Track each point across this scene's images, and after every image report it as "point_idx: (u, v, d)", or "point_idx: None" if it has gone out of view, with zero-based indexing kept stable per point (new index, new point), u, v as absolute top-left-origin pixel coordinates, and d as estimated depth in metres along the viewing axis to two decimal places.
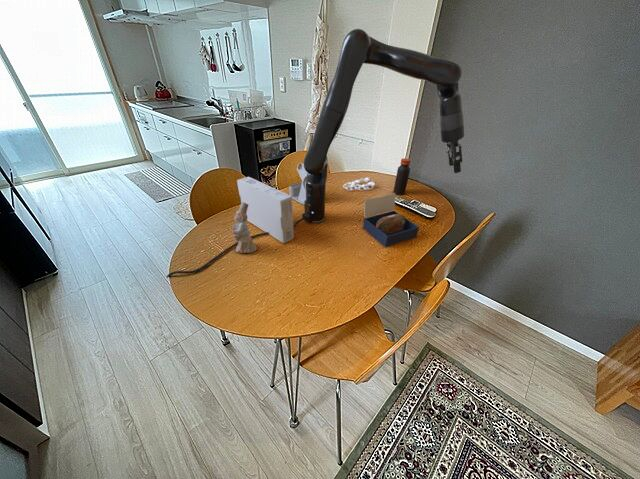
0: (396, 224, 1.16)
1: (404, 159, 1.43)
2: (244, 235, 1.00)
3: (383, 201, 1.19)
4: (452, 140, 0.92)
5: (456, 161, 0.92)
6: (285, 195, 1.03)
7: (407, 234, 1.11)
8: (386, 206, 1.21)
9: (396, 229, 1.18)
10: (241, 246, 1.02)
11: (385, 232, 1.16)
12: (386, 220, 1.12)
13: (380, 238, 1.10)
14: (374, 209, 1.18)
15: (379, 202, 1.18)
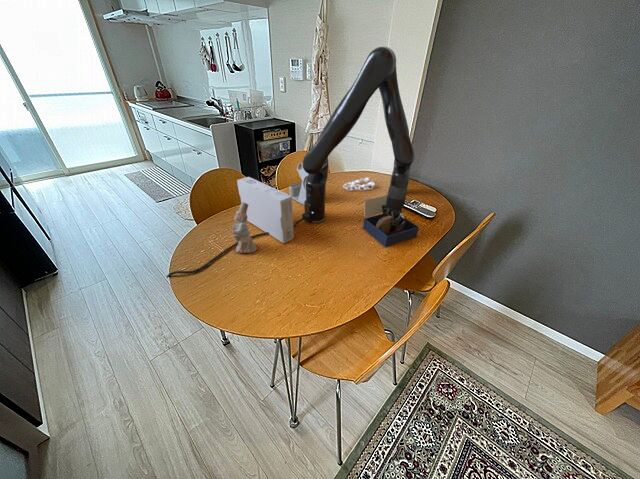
0: None
1: None
2: (244, 235, 1.00)
3: (383, 201, 1.19)
4: (399, 207, 1.07)
5: None
6: (285, 195, 1.03)
7: (407, 234, 1.11)
8: None
9: (396, 229, 1.18)
10: (241, 246, 1.02)
11: (385, 232, 1.16)
12: (386, 220, 1.12)
13: (380, 238, 1.10)
14: (374, 209, 1.18)
15: (379, 202, 1.18)
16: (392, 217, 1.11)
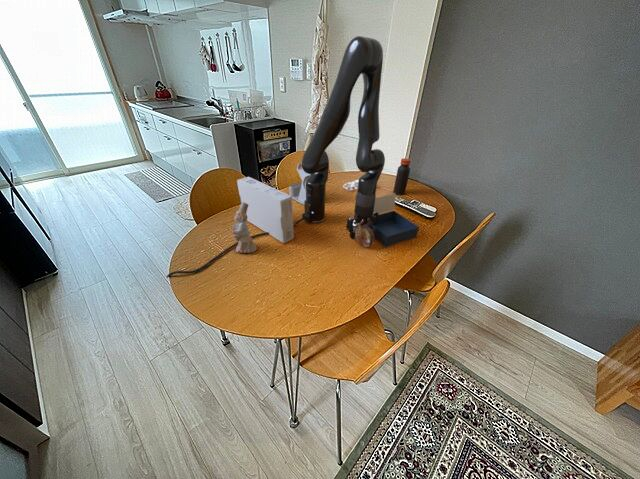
0: (363, 236, 1.08)
1: (404, 159, 1.43)
2: (244, 235, 1.00)
3: (383, 201, 1.19)
4: (355, 212, 1.03)
5: (347, 228, 1.05)
6: (285, 195, 1.03)
7: (407, 234, 1.11)
8: (386, 206, 1.21)
9: (363, 242, 1.09)
10: (241, 246, 1.02)
11: (355, 235, 1.13)
12: (356, 223, 1.10)
13: (380, 238, 1.10)
14: (374, 209, 1.18)
15: (379, 202, 1.18)
16: None
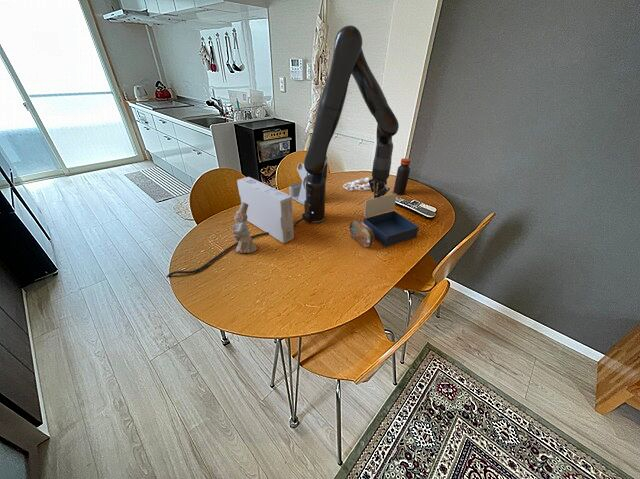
0: (363, 236, 1.08)
1: (404, 159, 1.43)
2: (244, 235, 1.00)
3: (384, 201, 1.19)
4: None
5: None
6: (285, 195, 1.03)
7: (407, 234, 1.11)
8: (386, 206, 1.21)
9: (363, 242, 1.09)
10: (241, 246, 1.02)
11: (355, 235, 1.13)
12: (356, 223, 1.10)
13: (380, 238, 1.10)
14: (374, 209, 1.18)
15: (379, 202, 1.18)
16: None
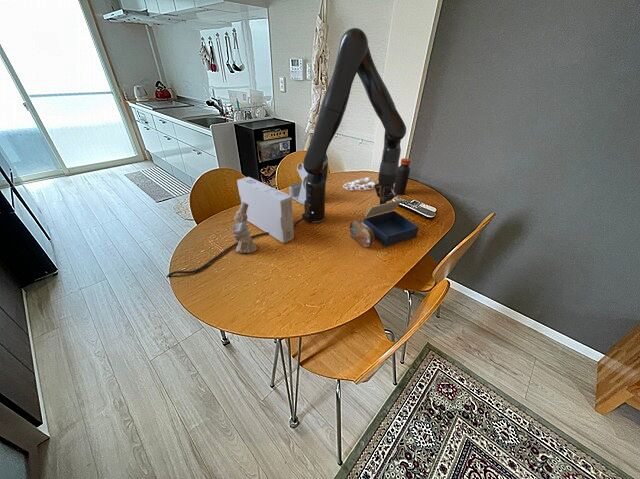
0: (363, 236, 1.08)
1: (404, 159, 1.43)
2: (244, 235, 1.00)
3: (388, 206, 1.17)
4: None
5: None
6: (285, 195, 1.03)
7: (407, 234, 1.11)
8: (388, 208, 1.20)
9: (363, 242, 1.09)
10: (241, 246, 1.02)
11: (355, 235, 1.13)
12: (356, 223, 1.10)
13: (380, 238, 1.10)
14: (376, 211, 1.17)
15: (383, 207, 1.16)
16: None
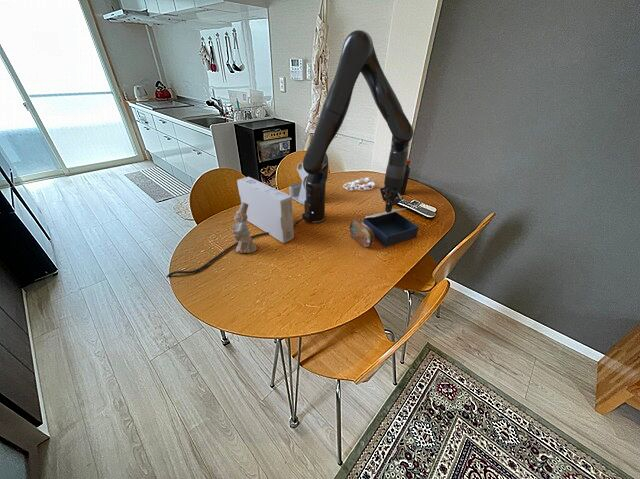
0: (363, 236, 1.08)
1: None
2: (244, 235, 1.00)
3: (390, 212, 1.17)
4: None
5: None
6: (285, 195, 1.03)
7: (407, 234, 1.11)
8: None
9: (363, 242, 1.09)
10: (241, 246, 1.02)
11: (355, 235, 1.13)
12: (356, 223, 1.10)
13: (380, 238, 1.10)
14: (377, 214, 1.17)
15: (386, 213, 1.16)
16: None
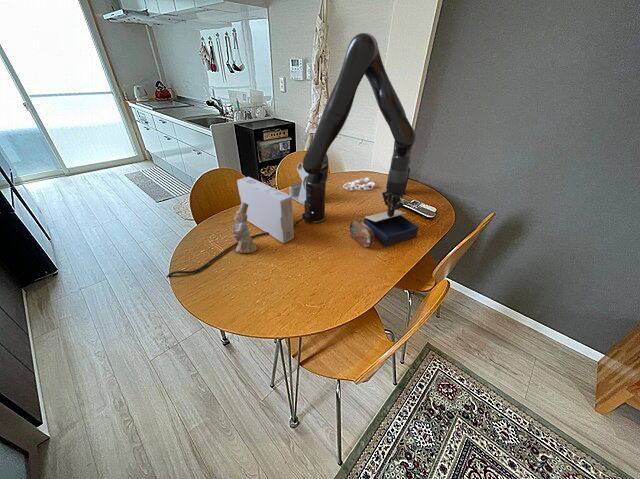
0: (363, 236, 1.08)
1: None
2: (244, 235, 1.00)
3: None
4: None
5: None
6: (285, 195, 1.03)
7: (407, 234, 1.11)
8: None
9: (363, 242, 1.09)
10: (241, 246, 1.02)
11: (355, 235, 1.13)
12: (356, 223, 1.10)
13: (380, 238, 1.10)
14: None
15: None
16: None
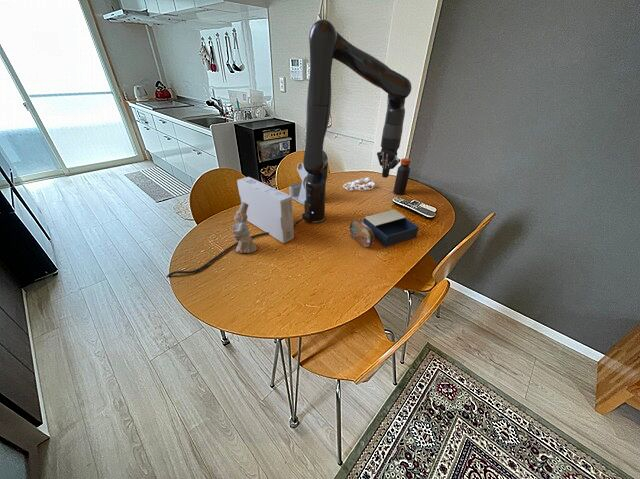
0: (363, 236, 1.08)
1: (404, 159, 1.43)
2: (244, 235, 1.00)
3: None
4: None
5: None
6: (285, 195, 1.03)
7: (407, 234, 1.11)
8: None
9: (363, 242, 1.09)
10: (241, 246, 1.02)
11: (355, 235, 1.13)
12: (356, 223, 1.10)
13: (380, 238, 1.10)
14: None
15: None
16: None
